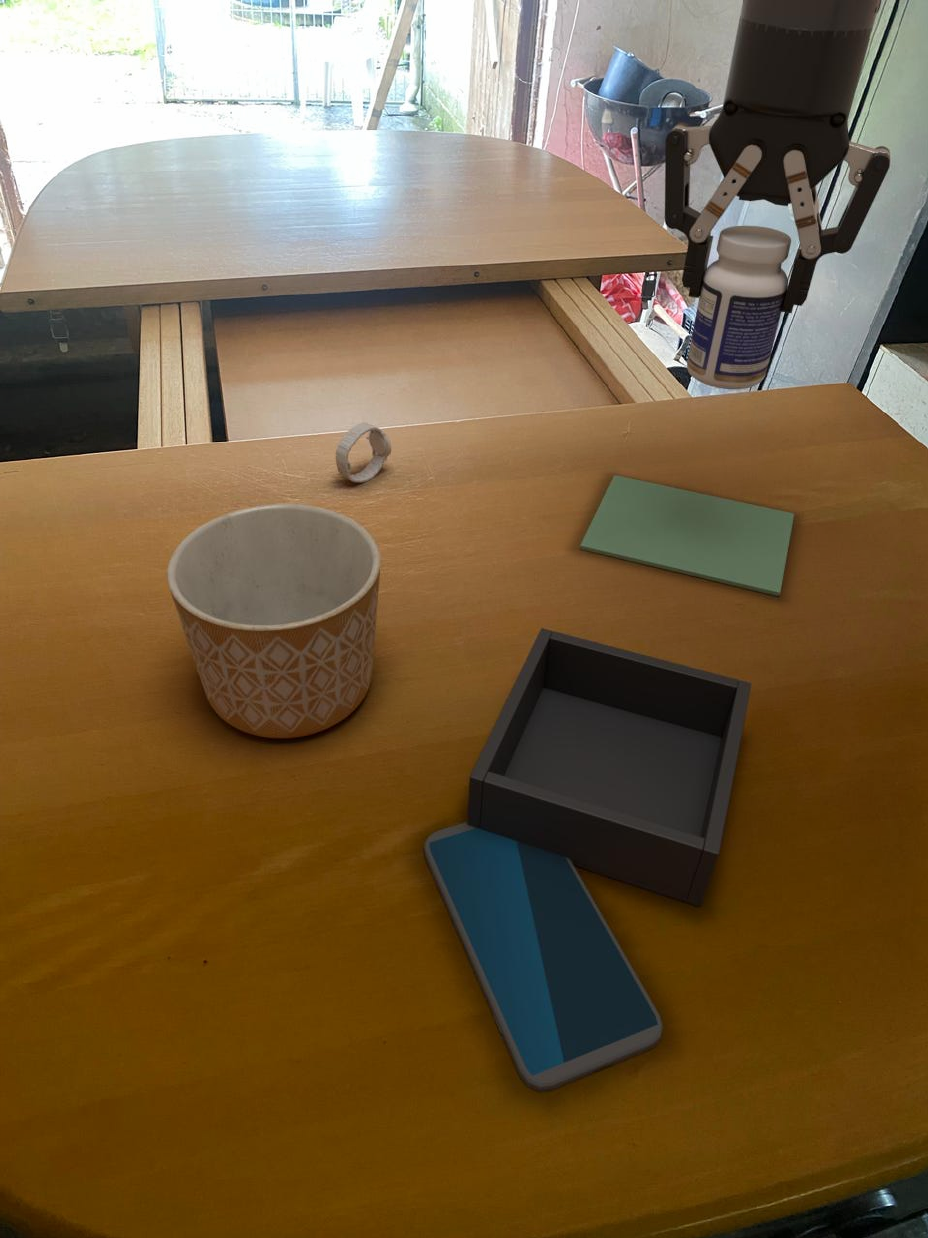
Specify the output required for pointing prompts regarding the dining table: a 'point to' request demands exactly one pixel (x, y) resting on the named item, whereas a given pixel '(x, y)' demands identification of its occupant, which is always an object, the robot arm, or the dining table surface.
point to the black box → (614, 763)
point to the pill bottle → (739, 308)
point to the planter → (279, 615)
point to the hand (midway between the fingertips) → (741, 300)
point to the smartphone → (541, 956)
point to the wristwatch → (378, 445)
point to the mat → (692, 534)
